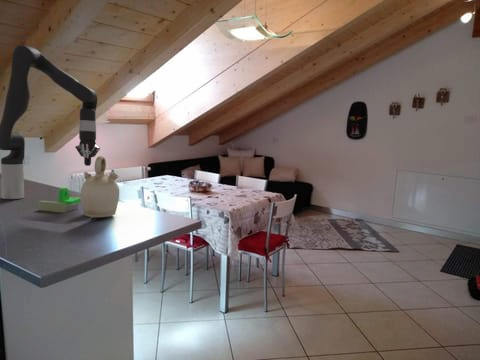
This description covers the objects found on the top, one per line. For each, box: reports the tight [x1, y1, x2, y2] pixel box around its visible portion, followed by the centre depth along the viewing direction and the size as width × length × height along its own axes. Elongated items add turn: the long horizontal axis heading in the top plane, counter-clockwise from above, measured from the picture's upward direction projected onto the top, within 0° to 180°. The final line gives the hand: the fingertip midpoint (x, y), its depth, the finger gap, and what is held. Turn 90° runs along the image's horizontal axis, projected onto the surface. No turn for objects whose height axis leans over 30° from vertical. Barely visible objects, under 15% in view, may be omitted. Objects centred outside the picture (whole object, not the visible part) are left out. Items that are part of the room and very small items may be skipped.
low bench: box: [38, 200, 79, 214], centre depth 155 cm, size 13×9×4 cm
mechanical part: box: [58, 187, 82, 205], centre depth 172 cm, size 12×6×8 cm, turn 0°
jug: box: [80, 155, 120, 218], centre depth 147 cm, size 15×16×25 cm
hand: (87, 165), depth 171 cm, fingers closed
